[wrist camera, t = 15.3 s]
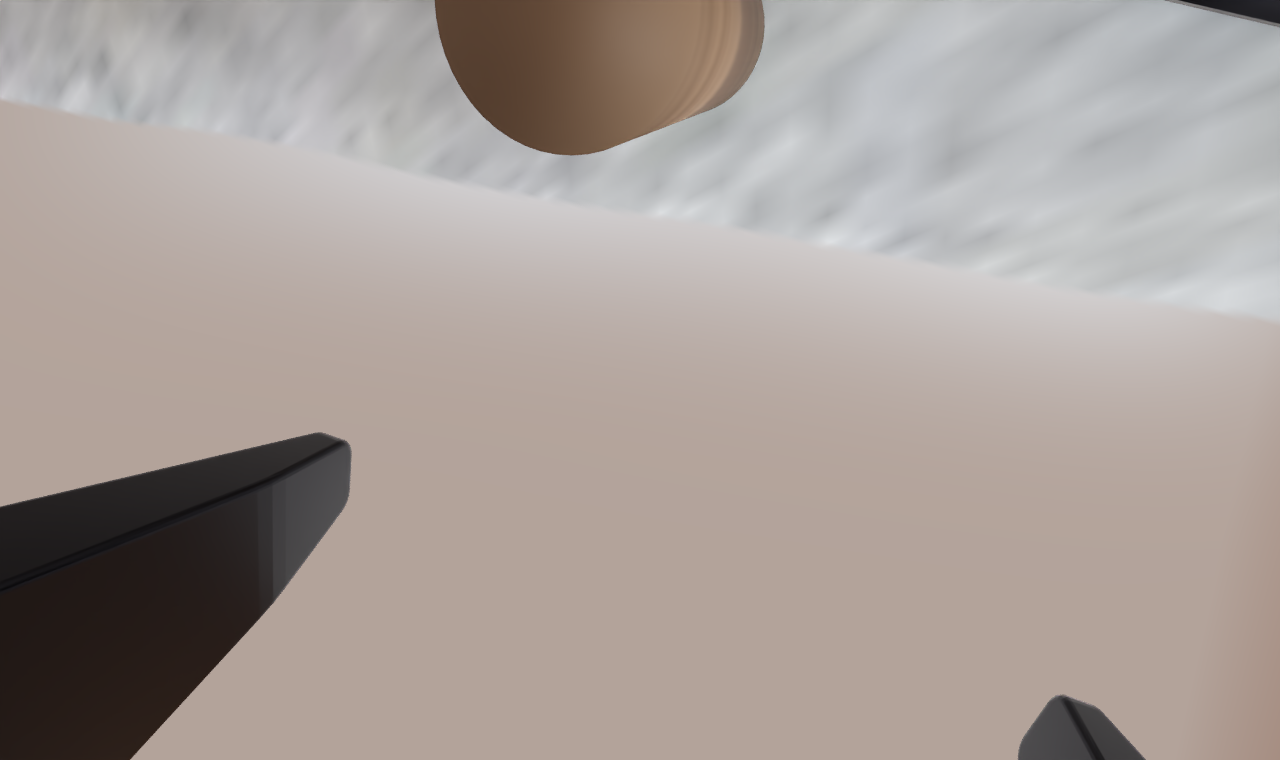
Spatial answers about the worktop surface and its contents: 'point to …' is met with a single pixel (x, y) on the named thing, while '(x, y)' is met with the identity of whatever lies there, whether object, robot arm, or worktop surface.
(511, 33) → the walnut cylinder
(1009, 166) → the worktop surface
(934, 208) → the worktop surface
